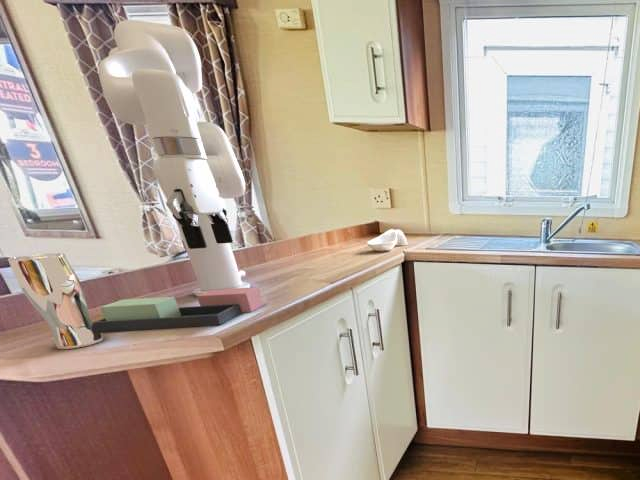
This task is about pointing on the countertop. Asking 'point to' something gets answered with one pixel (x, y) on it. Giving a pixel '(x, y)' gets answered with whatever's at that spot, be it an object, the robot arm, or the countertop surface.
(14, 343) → the countertop surface
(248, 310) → the pad rose
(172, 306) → the pad sage
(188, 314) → the frame
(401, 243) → the spoon rest
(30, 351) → the countertop surface
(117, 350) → the countertop surface
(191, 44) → the robot arm
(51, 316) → the chrome vase
